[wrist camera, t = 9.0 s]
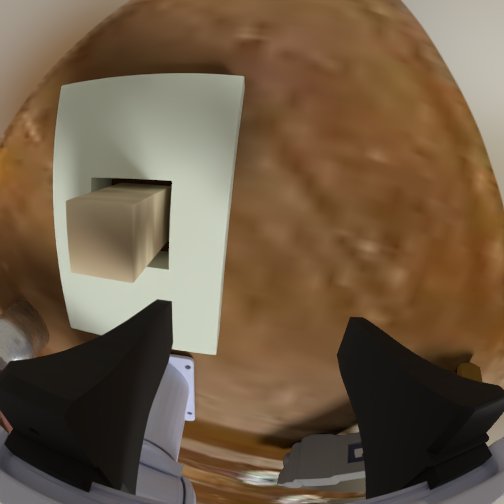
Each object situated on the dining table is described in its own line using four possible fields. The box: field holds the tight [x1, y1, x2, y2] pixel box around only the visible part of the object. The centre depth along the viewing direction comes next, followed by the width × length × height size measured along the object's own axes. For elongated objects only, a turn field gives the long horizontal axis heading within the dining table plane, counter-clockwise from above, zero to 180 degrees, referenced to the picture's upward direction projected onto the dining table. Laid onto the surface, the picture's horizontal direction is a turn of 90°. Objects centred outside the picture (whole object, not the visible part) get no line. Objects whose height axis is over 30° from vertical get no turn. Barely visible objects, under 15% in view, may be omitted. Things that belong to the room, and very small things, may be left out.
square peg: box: [66, 183, 172, 283], centre depth 15 cm, size 4×4×7 cm
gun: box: [277, 362, 482, 488], centre depth 24 cm, size 3×25×15 cm, turn 116°
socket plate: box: [53, 73, 245, 355], centre depth 17 cm, size 18×12×3 cm, turn 173°
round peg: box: [0, 301, 49, 371], centre depth 19 cm, size 6×6×6 cm
